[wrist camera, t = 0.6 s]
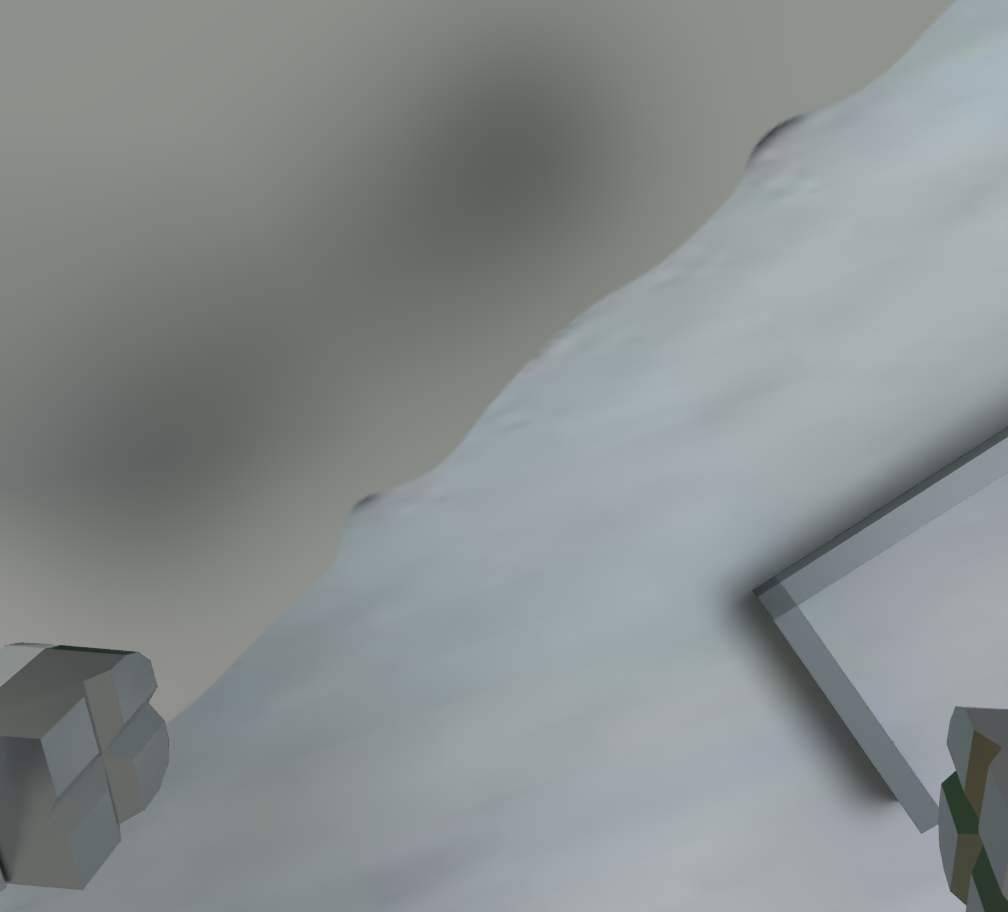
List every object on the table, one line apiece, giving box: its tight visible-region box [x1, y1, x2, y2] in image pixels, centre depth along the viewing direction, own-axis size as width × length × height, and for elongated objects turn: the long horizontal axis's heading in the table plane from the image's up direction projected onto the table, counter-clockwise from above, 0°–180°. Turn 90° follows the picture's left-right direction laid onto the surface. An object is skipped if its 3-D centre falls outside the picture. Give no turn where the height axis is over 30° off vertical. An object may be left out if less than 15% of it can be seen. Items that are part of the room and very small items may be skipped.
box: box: [753, 427, 1008, 834], centre depth 52 cm, size 14×21×6 cm
